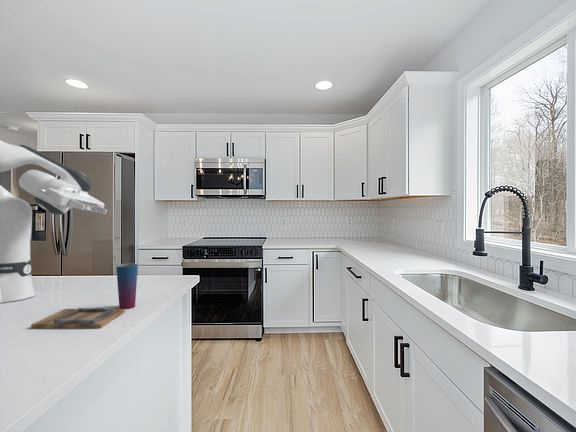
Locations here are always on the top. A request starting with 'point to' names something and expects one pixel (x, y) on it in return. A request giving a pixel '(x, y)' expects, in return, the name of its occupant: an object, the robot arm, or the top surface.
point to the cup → (127, 285)
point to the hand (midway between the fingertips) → (95, 210)
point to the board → (79, 318)
